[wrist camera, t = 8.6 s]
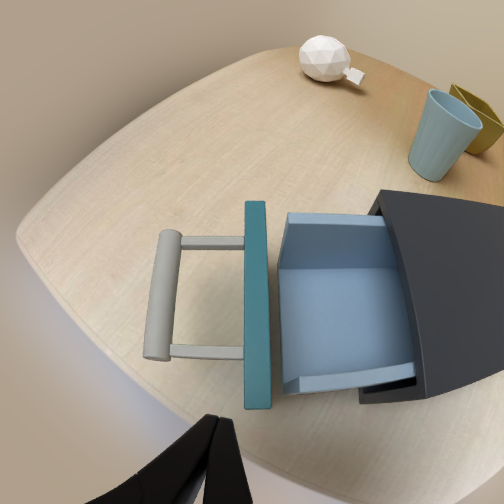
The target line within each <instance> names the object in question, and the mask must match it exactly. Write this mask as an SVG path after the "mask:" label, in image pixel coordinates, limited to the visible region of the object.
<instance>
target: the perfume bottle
mask: <svg viewBox="0 0 504 504" xmlns="http://www.w3.org/2000/svg"><path fill="white" fill-rule="evenodd" d="M350 59H351V58H350V56H349V54H348V51H347V49H346V47H345V46H344V45H343V44H341V43H340V42H339V41H338V40H336V39H335V38H333V37H327V36H320V35H319V36H317V37H313V38H311V39H308V40H307V41H306V42H305V44H304V45H303V46H302V47H301V48H300V52H299V62H300V65H301V67H302V69H303V72H304V73H306V74H307V75H308V76H310V77H311V78H313V79H314V80H317V81H324V82H330V81H335V80H340V79H341V78H342V77H343V76H344V74H345V75H347V78H346V79H348V80H350V81H352V82H354V83H356V84H357V85H361V84H362V82H363V80H364V78H365V76H366V74H364V73H363V72H361V71H359V70H357V69H355V68H351V69H349V64H350Z"/></svg>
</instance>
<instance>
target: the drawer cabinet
mask: <svg viewBox="0 0 504 504" xmlns="http://www.w3.org/2000/svg"><path fill="white" fill-rule="evenodd" d="M368 215H370V216H383V217H384V220H385V224H386V227H387V230H388V234H389V237H390V241H391V244H392V248H393V252H394V255H395V259H396V263H397V267H398V271H399V276H400V280H401V284H402V289H403V294H404V299H405V304H406V309H407V314H408V320H409V326H410V332H411V338H412V345H413V353H414V361H415V370H416V377H415V378H410V379H406V380H401V381H396V382H391V383H386V384H380V385H375V386H369V387H362V388H359V404H375V403H391V402H403V401H412V400H421V399H427V398H431V397H434V396H437V395H440V394H443V393H446V392H449V391H452V390H455V389H458V388H461V387H463V386H466V385H469V384H471V383H474V382H476V381H479V380H481V379H484V378H486V377H488V376H491V375H493V374H495V373H498V372H500V371H502V370H504V207H501V206H496V205H491V204H486V203H480V202H474V201H468V200H462V199H455V198H449V197H442V196H435V195H427V194H419V193H410V192H402V191H392V190H380V192H379V194H378V196H377V198H376V200H375V202H374V203H373V205H372V207H371V209H370V211H369V213H368Z"/></svg>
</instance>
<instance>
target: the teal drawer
mask: <svg viewBox="0 0 504 504" xmlns="http://www.w3.org/2000/svg"><path fill="white" fill-rule="evenodd" d="M182 249H183V250H244V347H243V346H206V345H184V344H172V337H173V324H174V313H175V302H176V292H177V283H178V274H179V266H180V258H181V250H182ZM277 273H278V293H279V315H280V340H281V371H282V395H297V394H311V393H322V392H332V391H340V390H348V389H355V388H362V387H369V386H375V385H380V384H386V383H391V382H396V381H401V380H406V379H410V378H415V377H416V370H415V361H414V353H413V345H412V338H411V332H410V326H409V320H408V314H407V309H406V304H405V299H404V294H403V289H402V284H401V280H400V276H399V271H398V267H397V263H396V259H395V255H394V252H393V248H392V244H391V241H390V237H389V234H388V230H387V227H386V224H385V220H384V217H383V216H370V215H349V214H322V213H288V214H287V219H286V224H285V229H284V234H283V239H282V244H281V249H280V254H279V259H278V263H277ZM171 357H174V358H189V359H210V360H244V409H246V410H252V409H271V408H272V403H271V353H270V316H269V284H268V256H267V231H266V208H265V201H245V237H244V236H182V234H181V233H180V232H178V231H176V230H171V229H167V230H163V231H161V233H160V234H159V239H158V245H157V250H156V256H155V262H154V268H153V274H152V280H151V287H150V294H149V301H148V309H147V317H146V326H145V335H144V346H143V358H145V359H149V360H154V361H164V362H167V361H171Z"/></svg>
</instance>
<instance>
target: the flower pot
mask: <svg viewBox="0 0 504 504" xmlns="http://www.w3.org/2000/svg"><path fill="white" fill-rule="evenodd" d="M449 94H450V95H451V96H453V97H455V98H457V99H458V100H460V101H461V102H462V103H464V104H465V105H466V106H468V107H469V108H470V109H471V110H472V111H473V112H474V113H475V114H476V115H477V116H478V118H479V119H480V121H481V122H482V125H483V127H482V129H481V131H480V132H479V133H478V134H477V136H476V137H475V138H474V139H473V140H472V142H471V143H470V144H469V146H468V147H467V148H466V149H465V151H467V152H469V153H471V154H477V153H481V152H483V151H485V150H487V149H488V148H490V147H491V146H492V145H493V144H494V143H495V142H496V141H497V140H498V138H499V137H500V136H501V135H502V134H503V132H504V124H503V123H502V121H501V120H500V119H499V117H498V116H497V114H496V113H495V112H494V111H493V109H492V108H491V107H490V105H489V104H488V103H487V102H485V101H484V100H482V99H481V98H479V97H477V96H475V95H474V94H472V93H470V92H469V91H467V90H465V89H463V88H461V87H459V86H457V85H455V84H453V83H452V85H451V89H450V93H449Z"/></svg>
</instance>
